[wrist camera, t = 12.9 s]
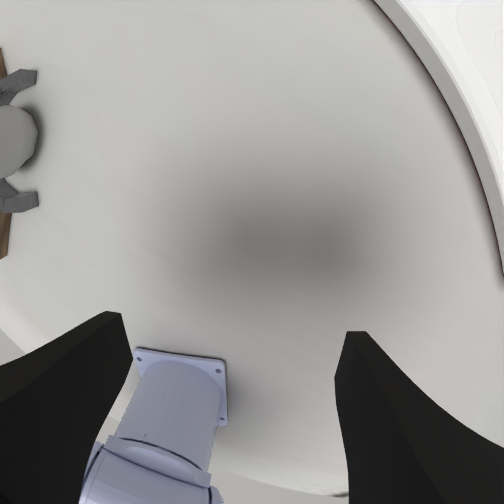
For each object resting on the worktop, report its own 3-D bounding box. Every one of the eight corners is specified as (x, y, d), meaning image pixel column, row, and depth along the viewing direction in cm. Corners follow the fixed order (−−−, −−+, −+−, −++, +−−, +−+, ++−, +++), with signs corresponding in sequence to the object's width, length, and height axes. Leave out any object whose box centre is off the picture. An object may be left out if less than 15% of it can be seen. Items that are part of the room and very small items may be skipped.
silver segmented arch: (38, 205, 19) (22, 212, 17) (-4, 208, 19) (-18, 214, 17) (36, 70, 14) (20, 68, 12) (-8, 93, 15) (-23, 93, 13)
